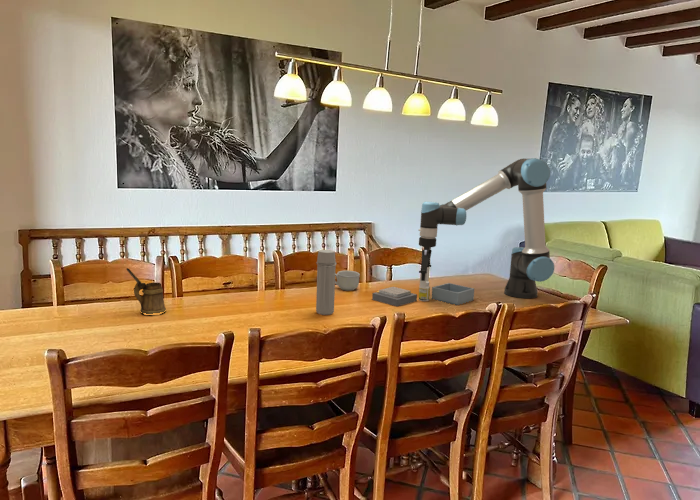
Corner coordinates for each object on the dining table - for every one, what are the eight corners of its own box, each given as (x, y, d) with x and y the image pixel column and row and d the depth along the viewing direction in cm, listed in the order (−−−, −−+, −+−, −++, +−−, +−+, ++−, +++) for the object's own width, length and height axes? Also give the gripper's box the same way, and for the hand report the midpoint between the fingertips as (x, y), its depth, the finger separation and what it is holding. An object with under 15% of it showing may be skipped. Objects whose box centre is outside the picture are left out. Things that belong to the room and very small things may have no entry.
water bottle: (316, 309, 207) (318, 249, 203) (335, 310, 207) (337, 250, 202) (313, 316, 198) (315, 253, 194) (333, 317, 197) (335, 254, 193)
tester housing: (416, 301, 227) (417, 293, 226) (397, 306, 216) (397, 298, 216) (392, 294, 236) (392, 287, 235) (372, 299, 226) (372, 291, 225)
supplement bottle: (424, 298, 232) (426, 280, 230) (431, 300, 228) (432, 282, 226) (416, 299, 230) (417, 281, 228) (422, 301, 226) (423, 283, 224)
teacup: (359, 287, 248) (360, 271, 246) (358, 292, 237) (358, 276, 236) (331, 285, 249) (332, 269, 248) (328, 290, 238) (328, 274, 237)
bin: (473, 300, 232) (474, 288, 231) (457, 305, 222) (458, 293, 221) (447, 294, 241) (448, 282, 240) (431, 299, 231) (432, 287, 230)
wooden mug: (126, 311, 194) (125, 265, 191) (164, 308, 201) (163, 263, 198) (129, 318, 187) (127, 270, 184) (167, 314, 193) (166, 268, 190)
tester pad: (410, 297, 226) (410, 290, 226) (396, 300, 219) (396, 294, 218) (392, 292, 233) (393, 286, 232) (378, 296, 226) (379, 289, 225)
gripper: (422, 233, 237) (418, 277, 240) (416, 240, 213) (412, 289, 216) (438, 234, 235) (434, 279, 239) (434, 241, 211) (430, 291, 215)
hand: (424, 284), depth 227 cm, fingers open, 13 cm apart
